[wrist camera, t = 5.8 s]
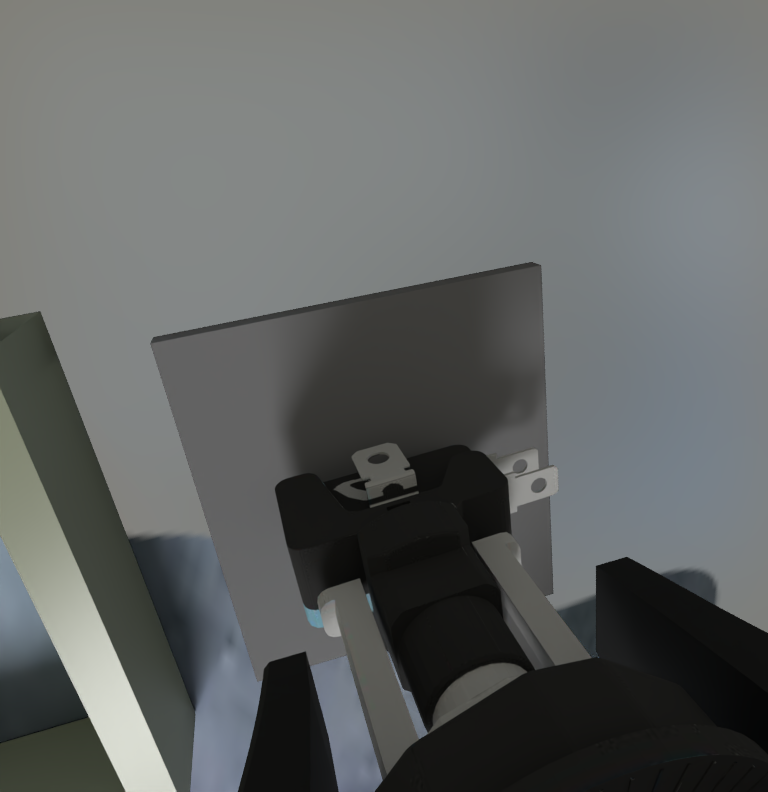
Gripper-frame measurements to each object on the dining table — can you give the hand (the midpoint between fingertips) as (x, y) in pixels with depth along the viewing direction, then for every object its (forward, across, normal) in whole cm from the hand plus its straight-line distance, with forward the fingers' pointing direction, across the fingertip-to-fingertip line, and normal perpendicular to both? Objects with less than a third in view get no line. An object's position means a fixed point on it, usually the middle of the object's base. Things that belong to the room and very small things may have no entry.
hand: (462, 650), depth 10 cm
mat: (+6, 0, 0) cm, 6 cm away
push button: (+5, 0, 0) cm, 5 cm away
